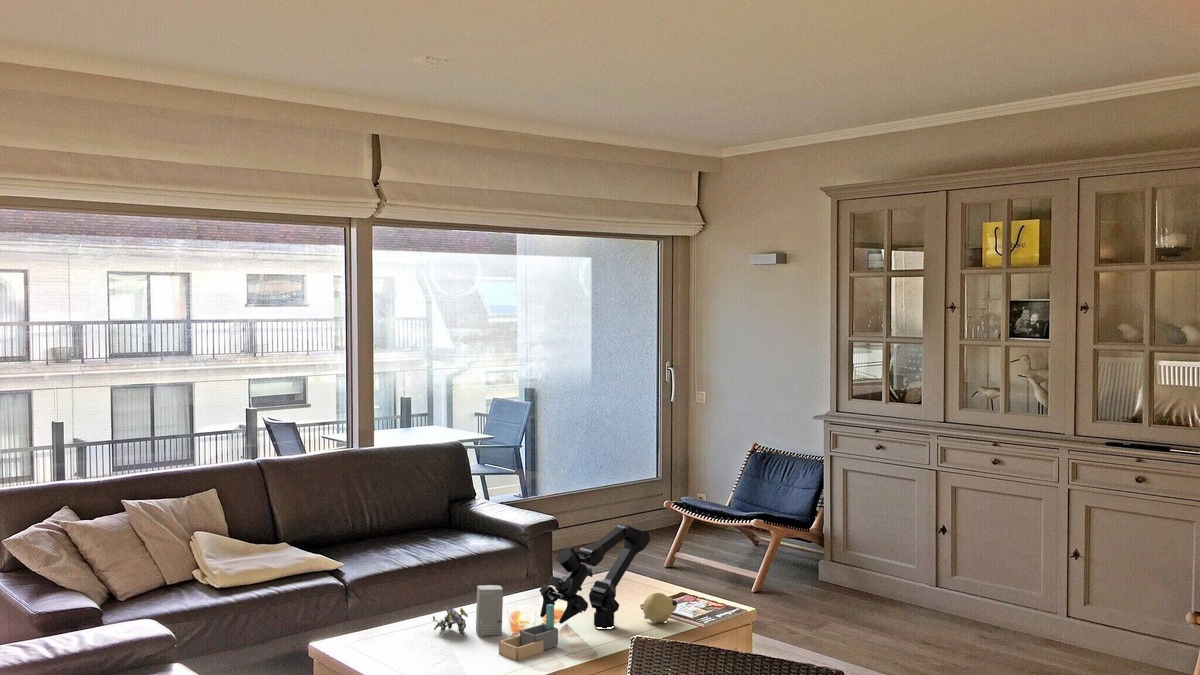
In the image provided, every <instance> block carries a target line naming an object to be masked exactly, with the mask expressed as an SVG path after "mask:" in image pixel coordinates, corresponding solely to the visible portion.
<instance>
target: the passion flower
mask: <svg viewBox="0 0 1200 675" xmlns="http://www.w3.org/2000/svg"><path fill="white" fill-rule="evenodd" d="M444 609H445V611H446V612H447V615H445V616H443V617H444V620H443V619H441V620H440V622H439V621H438V620H437V619H436V617H435V615H434V616H432V619H433V620H432V621H433V622H435V621H436V623H437V624H436V625H435V627H434V628H433V631H435V630H436V629H437V628H439V627H440V631H439V632H440V633H439V635H438V636H441V634H442V633H443V632H444V631H445V630H446V628H448V630H451V629H452V627H453V625H455V624H456V625H457V629H458V632H459V633H460V634H461V635H463V636H464V634H465V635H466V632H465V629H466V627H467V623H466V619H465V618H463V616H464V617H466V618H468V614H467V613H466V610H464V608H462V607H460V608H459V612H460V613H459V612H458V610H456V609H454V608H451V607H450V608H448V606H445V607H444ZM462 615H463V616H462Z"/></svg>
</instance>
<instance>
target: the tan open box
mask: <svg viewBox="0 0 1200 675" xmlns="http://www.w3.org/2000/svg"><path fill="white" fill-rule="evenodd" d="M543 641H544V640H540V641H537V642H534V643H530V644H527V645H524V646H521V647H520V634H519V635H516V636H513V637H510V638H505V639H503V640H499V642H498V654H499V655H501V656H504V657H505V658H506V657H507V658H508V659H511V660H514V661H516V662H518V660H519V661H521V659H522V660H525V659H528V658H531V657H534V656H533V655H535V656H538V655H540V653H541V654H543V653H544V650H543ZM537 654H538V655H537ZM530 656H531V657H530ZM527 657H528V658H527ZM524 658H525V659H524Z"/></svg>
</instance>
